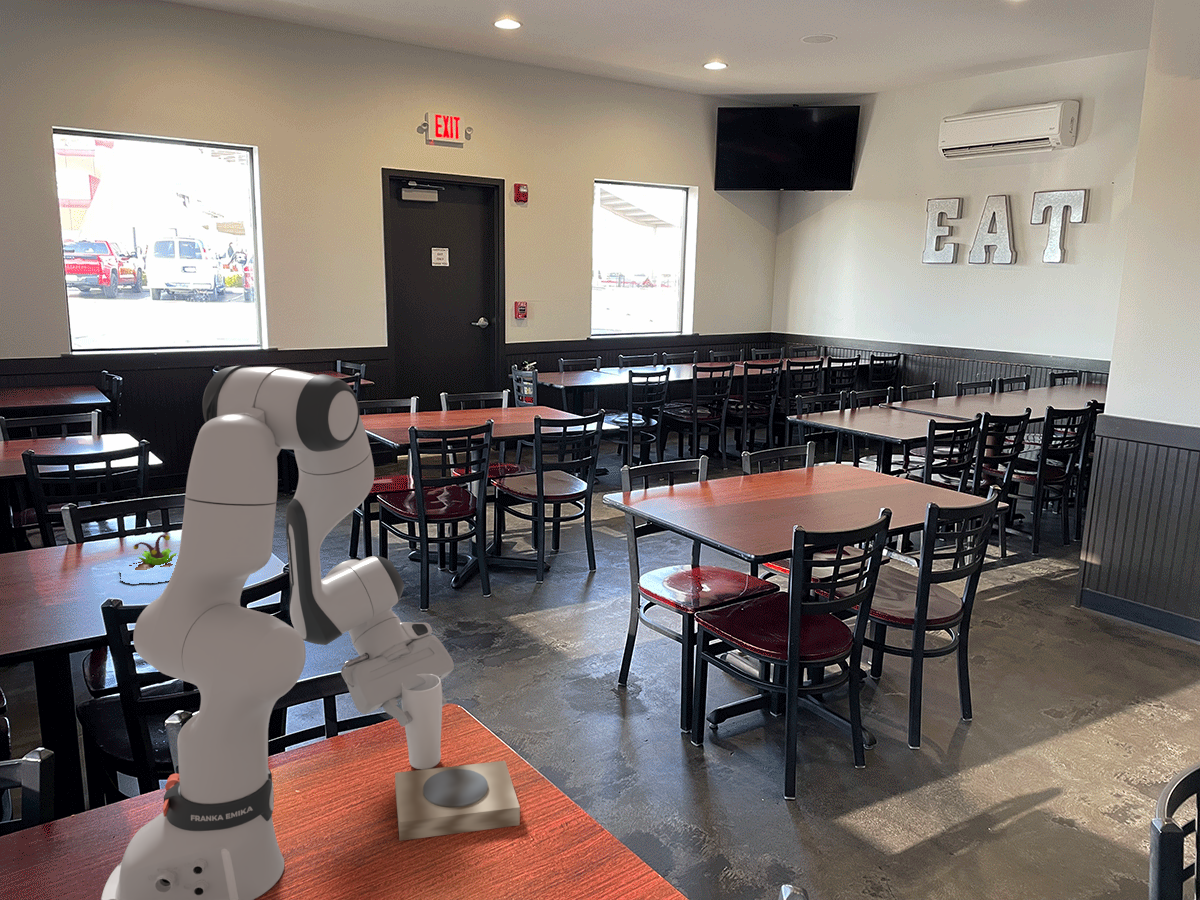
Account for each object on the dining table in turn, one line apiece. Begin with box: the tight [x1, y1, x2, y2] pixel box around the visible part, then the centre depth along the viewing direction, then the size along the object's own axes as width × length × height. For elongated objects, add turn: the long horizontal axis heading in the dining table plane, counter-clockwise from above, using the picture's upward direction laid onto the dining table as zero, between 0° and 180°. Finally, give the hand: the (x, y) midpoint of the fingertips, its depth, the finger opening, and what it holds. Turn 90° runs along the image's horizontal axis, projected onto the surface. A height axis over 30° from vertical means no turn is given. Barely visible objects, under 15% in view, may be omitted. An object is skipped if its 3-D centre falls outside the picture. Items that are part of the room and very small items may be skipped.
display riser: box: [394, 760, 521, 842], centre depth 139 cm, size 18×14×4 cm
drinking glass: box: [400, 674, 443, 770], centre depth 150 cm, size 7×7×15 cm
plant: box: [129, 534, 178, 570], centre depth 246 cm, size 20×20×11 cm
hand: (425, 714), depth 149 cm, fingers closed on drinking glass, 7 cm apart
